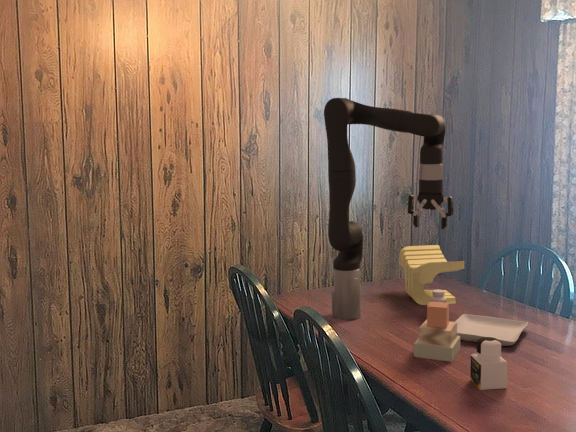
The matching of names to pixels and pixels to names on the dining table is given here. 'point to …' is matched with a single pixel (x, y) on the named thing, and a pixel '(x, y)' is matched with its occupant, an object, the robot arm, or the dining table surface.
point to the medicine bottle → (488, 365)
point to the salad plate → (489, 328)
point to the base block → (437, 350)
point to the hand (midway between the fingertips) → (430, 228)
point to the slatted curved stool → (425, 270)
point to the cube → (438, 314)
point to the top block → (438, 334)
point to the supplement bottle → (438, 296)
